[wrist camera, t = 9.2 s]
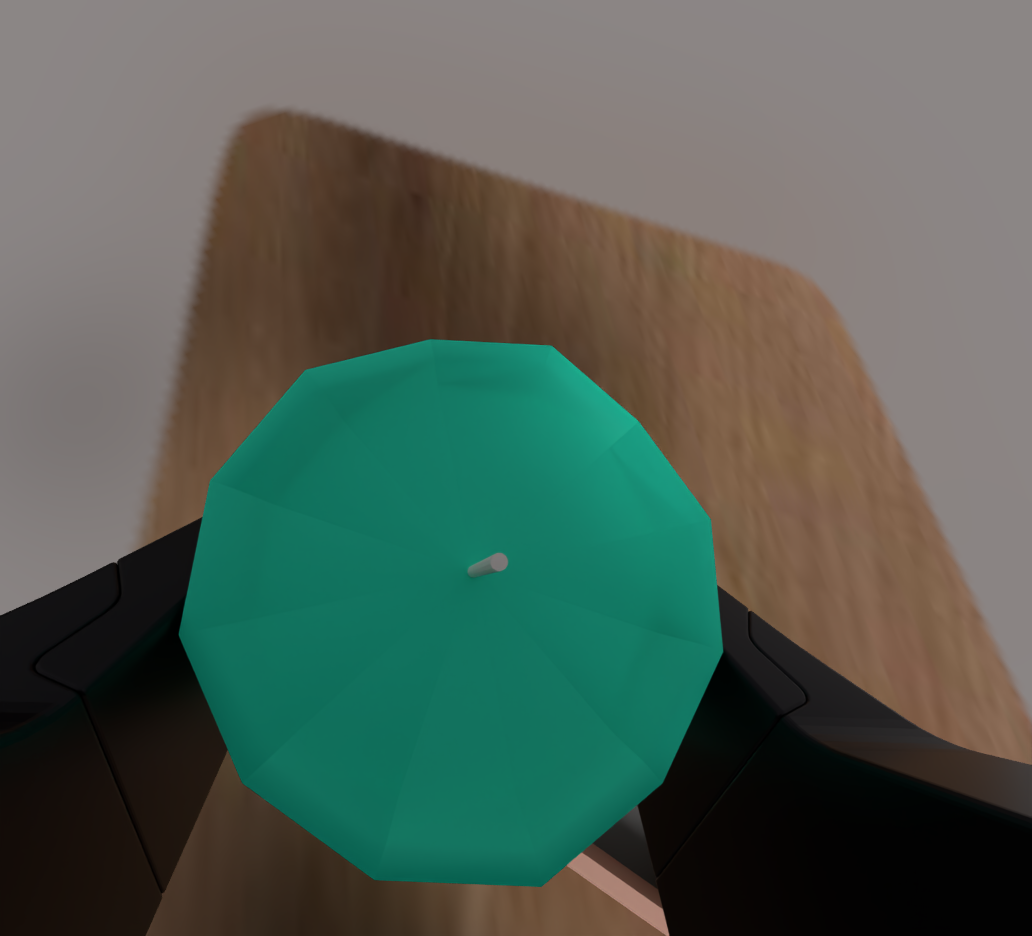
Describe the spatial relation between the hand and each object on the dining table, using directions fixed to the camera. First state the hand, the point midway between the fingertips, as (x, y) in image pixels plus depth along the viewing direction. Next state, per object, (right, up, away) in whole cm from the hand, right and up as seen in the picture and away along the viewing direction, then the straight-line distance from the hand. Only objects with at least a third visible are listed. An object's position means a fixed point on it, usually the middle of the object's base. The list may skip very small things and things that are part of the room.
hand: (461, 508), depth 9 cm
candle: (-1, -3, +6) cm, 7 cm away
